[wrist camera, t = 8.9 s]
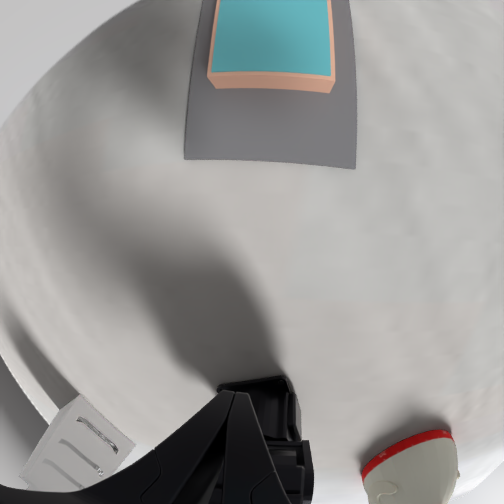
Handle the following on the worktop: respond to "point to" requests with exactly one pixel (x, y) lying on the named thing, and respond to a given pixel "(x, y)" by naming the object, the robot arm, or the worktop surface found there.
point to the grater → (75, 451)
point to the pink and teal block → (273, 45)
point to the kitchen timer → (414, 471)
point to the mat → (274, 110)
